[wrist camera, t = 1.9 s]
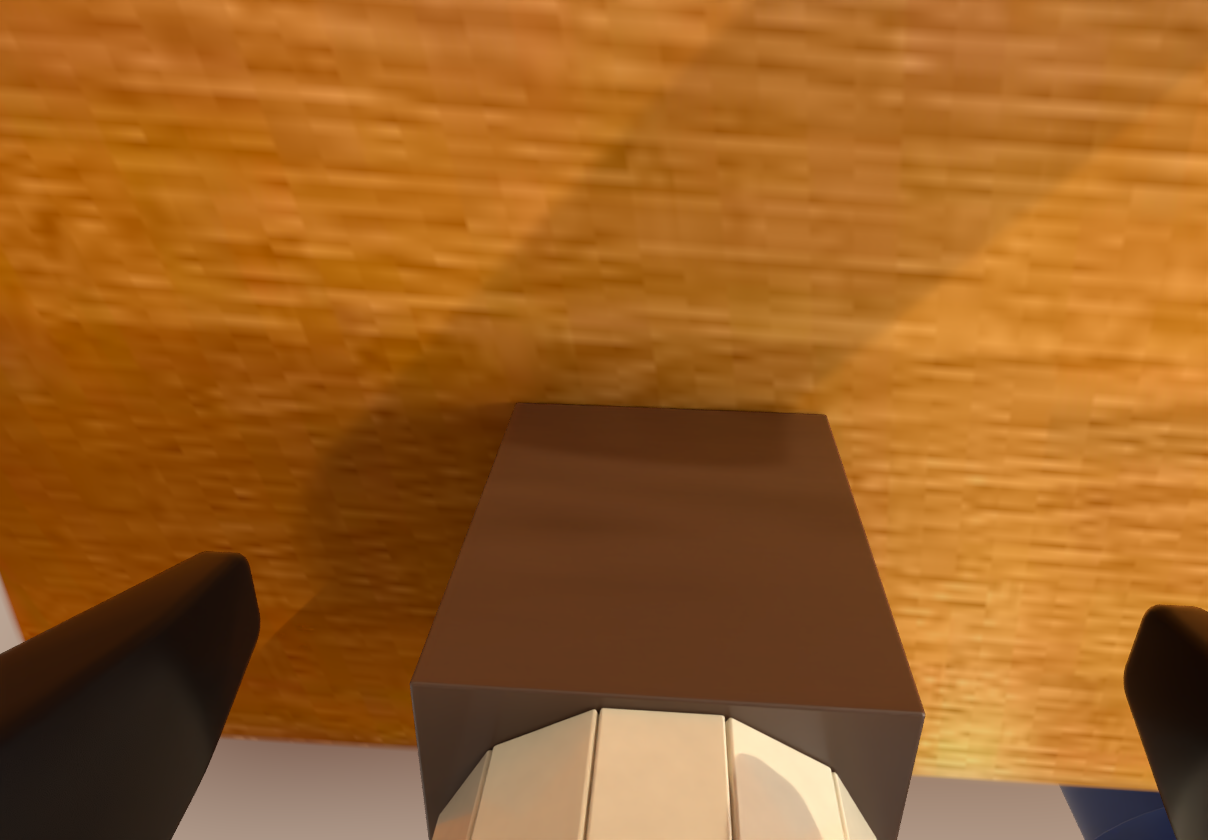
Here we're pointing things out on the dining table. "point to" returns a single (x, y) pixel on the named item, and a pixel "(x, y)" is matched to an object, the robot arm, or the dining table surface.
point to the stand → (669, 596)
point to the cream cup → (650, 784)
